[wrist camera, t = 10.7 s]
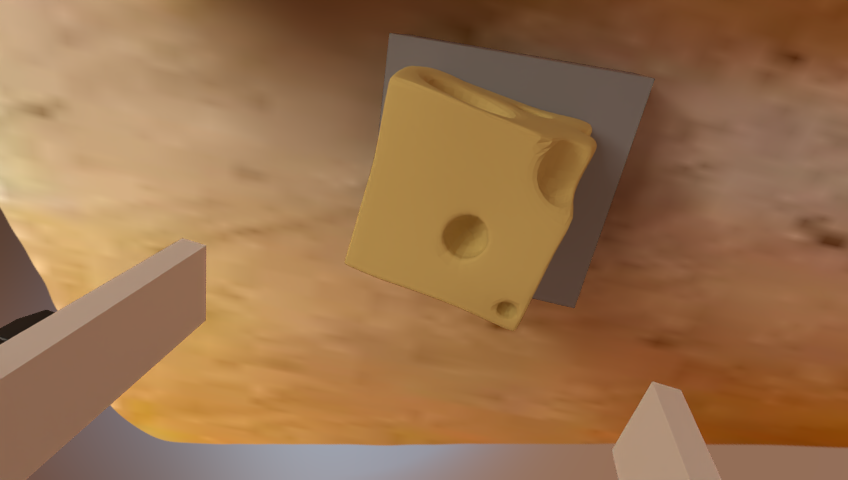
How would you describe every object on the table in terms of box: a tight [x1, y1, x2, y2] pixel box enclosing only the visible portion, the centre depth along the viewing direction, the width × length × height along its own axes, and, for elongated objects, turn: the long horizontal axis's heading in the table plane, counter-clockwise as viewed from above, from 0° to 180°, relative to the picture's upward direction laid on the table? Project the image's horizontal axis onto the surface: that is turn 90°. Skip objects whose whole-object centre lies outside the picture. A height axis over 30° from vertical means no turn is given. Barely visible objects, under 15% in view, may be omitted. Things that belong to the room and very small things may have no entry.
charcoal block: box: [378, 33, 655, 308], centre depth 33 cm, size 16×16×6 cm
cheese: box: [345, 66, 597, 331], centre depth 26 cm, size 10×11×10 cm
